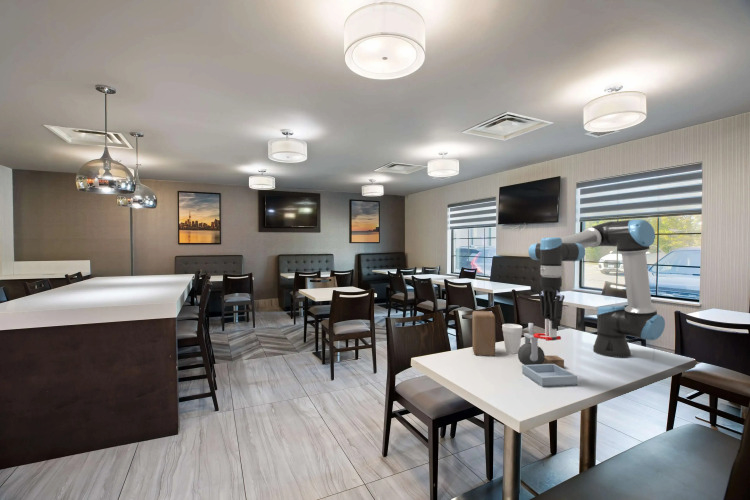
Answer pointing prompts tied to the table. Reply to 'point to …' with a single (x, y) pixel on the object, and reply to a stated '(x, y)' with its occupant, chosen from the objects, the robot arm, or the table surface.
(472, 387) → the table surface
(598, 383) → the table surface
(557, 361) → the block
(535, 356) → the trolley wheel
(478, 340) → the wooden block
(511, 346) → the foam cup
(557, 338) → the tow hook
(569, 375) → the tray
